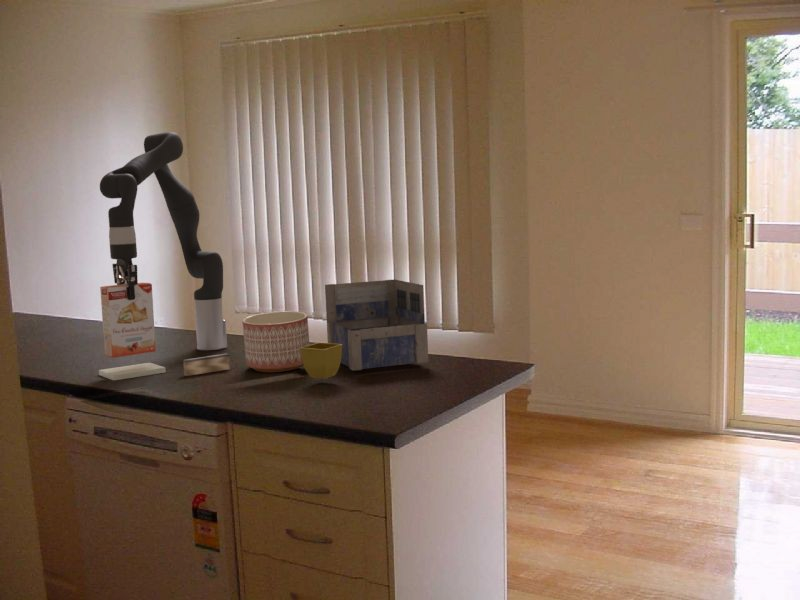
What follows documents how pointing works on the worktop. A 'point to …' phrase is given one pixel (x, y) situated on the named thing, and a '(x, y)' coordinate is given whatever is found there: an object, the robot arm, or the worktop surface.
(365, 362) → the building
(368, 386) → the worktop surface
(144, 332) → the cracker box
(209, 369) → the tear rail
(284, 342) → the planter
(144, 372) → the plate
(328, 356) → the flower pot
